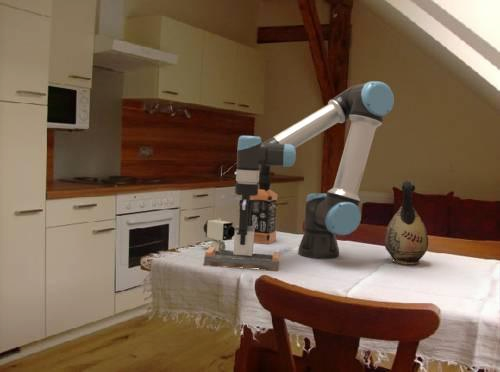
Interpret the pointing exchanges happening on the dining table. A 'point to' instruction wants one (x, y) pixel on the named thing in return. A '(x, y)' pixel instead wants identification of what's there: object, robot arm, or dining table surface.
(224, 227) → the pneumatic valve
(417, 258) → the ceramic jug
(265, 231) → the whiskey bottle
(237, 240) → the din module
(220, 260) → the rail board
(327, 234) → the robot arm
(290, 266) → the dining table surface
